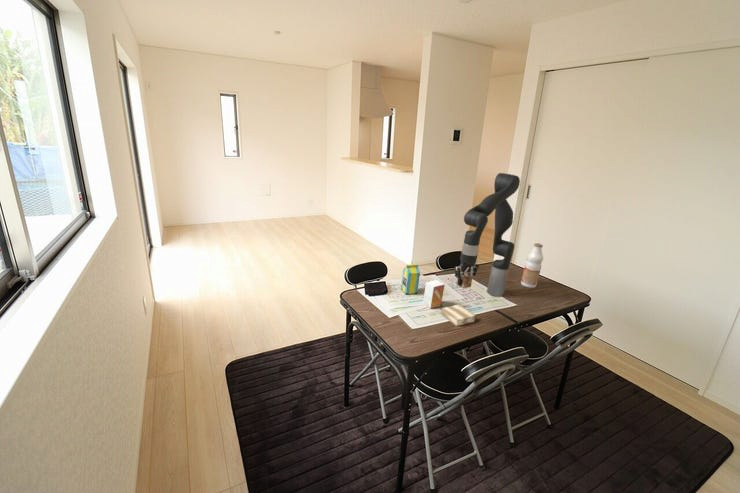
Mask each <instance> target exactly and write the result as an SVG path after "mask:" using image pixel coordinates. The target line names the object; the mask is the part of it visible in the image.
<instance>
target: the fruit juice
mask: <svg viewBox="0 0 740 493" xmlns="http://www.w3.org/2000/svg"><path fill="white" fill-rule="evenodd" d="M543 246H544V244H541V243H538V242H537V243H536V242H535V243H533V248H532V250H531V251H530V252H529V253H528V254H527V257H526V258H527V260H526V262H525V264H524V267H523V272H522V277H521V280H520V284H521V285H522V286H523V287H526V288H530V289H534V288H535V289H536V287H537V285H538V282H539V278H540V273H541V269H542V263H543V261H544V255H543V250H542V249H543Z"/></svg>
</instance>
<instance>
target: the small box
mask: <svg viewBox="0 0 740 493" xmlns="http://www.w3.org/2000/svg"><path fill="white" fill-rule="evenodd" d="M444 291H445V283H443V282H442V281H439V280H438V279H436V280H431V281H426V282H425V287H424V292H423V293H424V295H423V300H422V305H424V306H426V307H428V308H429V309H435V308H437V307H441V306H442V303H443V296H444Z"/></svg>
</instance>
